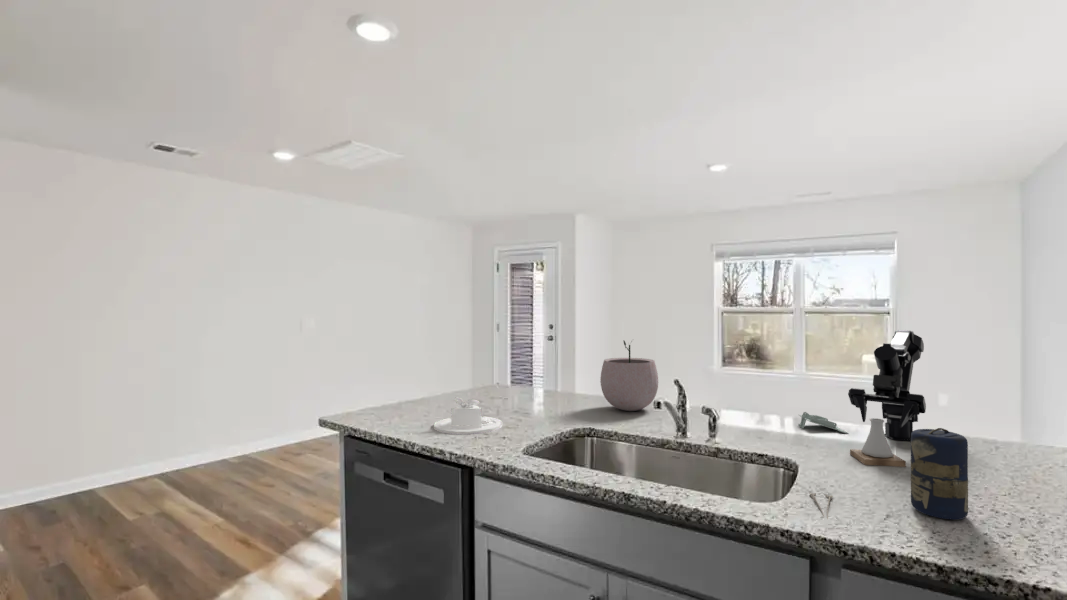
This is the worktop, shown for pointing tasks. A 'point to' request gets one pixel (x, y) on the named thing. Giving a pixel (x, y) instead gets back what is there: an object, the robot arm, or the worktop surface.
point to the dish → (467, 419)
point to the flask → (877, 441)
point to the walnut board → (877, 459)
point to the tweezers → (818, 503)
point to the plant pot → (629, 382)
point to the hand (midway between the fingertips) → (881, 423)
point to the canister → (939, 473)
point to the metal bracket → (818, 421)
